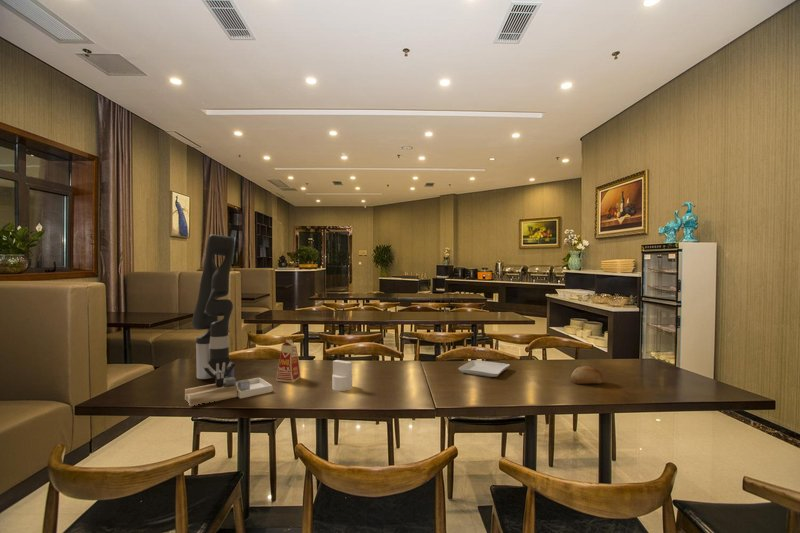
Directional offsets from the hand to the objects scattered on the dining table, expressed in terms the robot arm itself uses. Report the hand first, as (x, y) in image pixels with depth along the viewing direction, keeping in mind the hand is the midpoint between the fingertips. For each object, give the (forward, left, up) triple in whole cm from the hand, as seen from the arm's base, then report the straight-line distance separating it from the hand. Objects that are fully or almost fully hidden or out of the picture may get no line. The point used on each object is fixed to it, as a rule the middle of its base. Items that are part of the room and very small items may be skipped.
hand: (219, 387), depth 172 cm
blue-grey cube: (0, +8, -1) cm, 8 cm away
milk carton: (-6, +34, -4) cm, 35 cm away
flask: (-16, +7, -5) cm, 18 cm away
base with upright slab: (+23, +47, -5) cm, 52 cm away
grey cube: (0, +4, -1) cm, 4 cm away
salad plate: (+47, +118, -5) cm, 127 cm away
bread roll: (+91, +139, -5) cm, 166 cm away
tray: (0, +13, -4) cm, 14 cm away
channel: (0, -3, -4) cm, 5 cm away
